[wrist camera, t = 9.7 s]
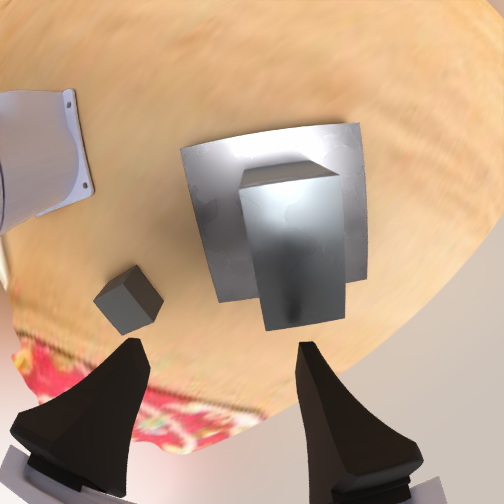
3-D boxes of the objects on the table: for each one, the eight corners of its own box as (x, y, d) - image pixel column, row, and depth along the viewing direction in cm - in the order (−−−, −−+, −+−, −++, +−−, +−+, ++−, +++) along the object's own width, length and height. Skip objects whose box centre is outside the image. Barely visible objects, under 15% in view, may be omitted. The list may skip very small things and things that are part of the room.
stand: (189, 146, 17) (179, 148, 15) (346, 123, 17) (359, 122, 14) (222, 285, 22) (218, 302, 20) (356, 263, 21) (366, 279, 19)
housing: (262, 272, 19) (266, 331, 13) (244, 169, 16) (238, 189, 10) (320, 263, 18) (344, 318, 13) (310, 159, 15) (340, 175, 10)
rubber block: (107, 282, 22) (92, 300, 20) (136, 265, 21) (122, 283, 19) (133, 315, 24) (122, 335, 21) (163, 301, 23) (153, 322, 20)
